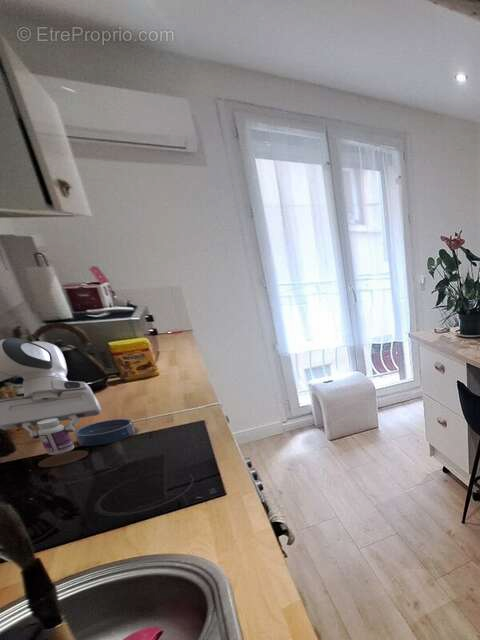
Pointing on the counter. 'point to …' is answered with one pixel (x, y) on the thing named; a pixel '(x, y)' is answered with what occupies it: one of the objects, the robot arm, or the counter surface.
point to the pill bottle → (54, 436)
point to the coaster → (63, 458)
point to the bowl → (105, 432)
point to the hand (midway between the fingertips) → (53, 434)
